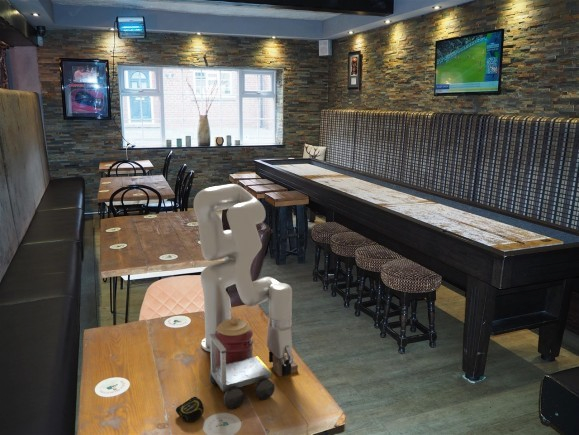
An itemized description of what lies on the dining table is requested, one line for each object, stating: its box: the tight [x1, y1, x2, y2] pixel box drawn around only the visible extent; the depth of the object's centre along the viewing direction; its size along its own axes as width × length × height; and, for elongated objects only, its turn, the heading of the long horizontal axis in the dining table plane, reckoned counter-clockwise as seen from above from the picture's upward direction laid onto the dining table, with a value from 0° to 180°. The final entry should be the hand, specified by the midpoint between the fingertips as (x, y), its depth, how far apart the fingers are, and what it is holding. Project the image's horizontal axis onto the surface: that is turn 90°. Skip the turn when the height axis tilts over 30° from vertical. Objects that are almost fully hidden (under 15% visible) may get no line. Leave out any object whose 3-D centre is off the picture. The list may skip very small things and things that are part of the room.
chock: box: [272, 353, 299, 377], centre depth 162 cm, size 5×7×6 cm
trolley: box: [208, 334, 275, 410], centre depth 148 cm, size 14×16×19 cm
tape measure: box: [175, 396, 205, 423], centre depth 137 cm, size 7×7×4 cm
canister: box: [215, 316, 254, 367], centre depth 164 cm, size 13×13×18 cm
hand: (279, 367), depth 161 cm, fingers open, 9 cm apart
